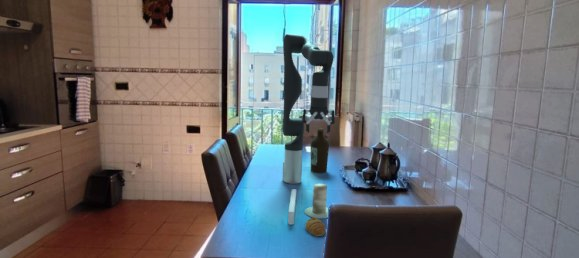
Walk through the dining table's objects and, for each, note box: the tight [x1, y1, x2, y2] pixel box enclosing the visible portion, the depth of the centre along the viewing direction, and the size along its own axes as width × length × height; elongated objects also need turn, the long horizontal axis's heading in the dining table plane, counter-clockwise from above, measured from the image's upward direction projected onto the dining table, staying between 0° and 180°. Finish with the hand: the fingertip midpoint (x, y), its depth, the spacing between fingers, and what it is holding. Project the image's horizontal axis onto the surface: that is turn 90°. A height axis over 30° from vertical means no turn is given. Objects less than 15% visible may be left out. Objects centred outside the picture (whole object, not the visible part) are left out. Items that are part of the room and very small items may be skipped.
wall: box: [287, 188, 297, 225], centre depth 148 cm, size 26×2×5 cm, turn 177°
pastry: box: [304, 217, 326, 237], centre depth 130 cm, size 9×7×4 cm
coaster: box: [304, 206, 329, 220], centre depth 148 cm, size 12×12×1 cm
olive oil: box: [310, 127, 330, 174], centre depth 208 cm, size 11×11×25 cm
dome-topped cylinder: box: [311, 183, 328, 214], centre depth 147 cm, size 6×6×11 cm
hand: (317, 132), depth 161 cm, fingers open, 8 cm apart
